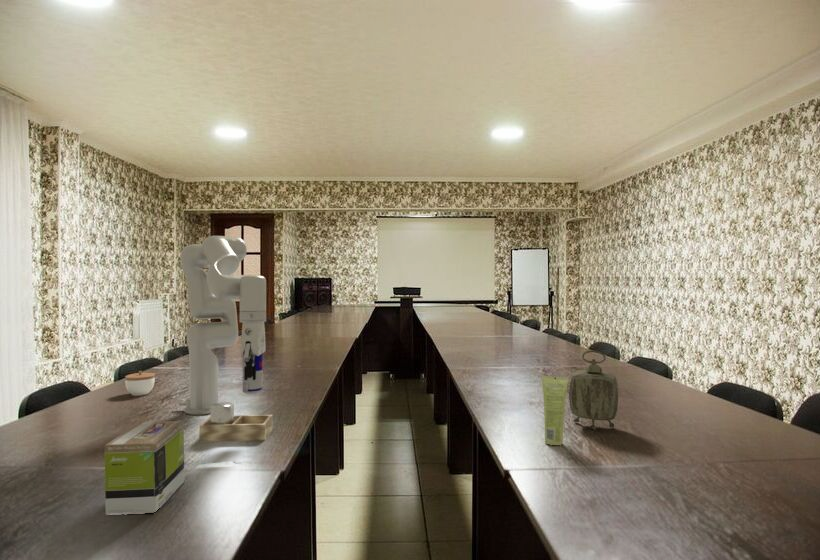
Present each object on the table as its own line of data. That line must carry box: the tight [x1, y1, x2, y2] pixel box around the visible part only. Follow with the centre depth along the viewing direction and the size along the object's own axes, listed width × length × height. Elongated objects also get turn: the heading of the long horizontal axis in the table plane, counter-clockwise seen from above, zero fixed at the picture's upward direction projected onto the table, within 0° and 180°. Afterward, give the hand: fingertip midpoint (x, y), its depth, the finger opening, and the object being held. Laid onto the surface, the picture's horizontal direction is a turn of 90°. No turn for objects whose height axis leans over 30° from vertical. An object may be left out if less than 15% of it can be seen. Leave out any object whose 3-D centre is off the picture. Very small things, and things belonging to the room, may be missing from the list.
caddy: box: [198, 414, 274, 443], centre depth 137 cm, size 18×10×6 cm, turn 94°
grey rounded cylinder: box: [210, 401, 235, 425], centre depth 136 cm, size 6×6×9 cm
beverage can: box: [242, 351, 264, 395], centre depth 137 cm, size 6×6×15 cm
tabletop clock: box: [568, 349, 619, 430], centre depth 148 cm, size 14×9×25 cm, turn 65°
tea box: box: [104, 420, 186, 515], centre depth 99 cm, size 15×10×15 cm, turn 5°
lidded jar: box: [124, 370, 156, 397], centre depth 190 cm, size 11×11×9 cm
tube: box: [541, 375, 569, 446], centre depth 134 cm, size 6×5×20 cm
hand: (252, 377), depth 137 cm, fingers closed on beverage can, 4 cm apart
